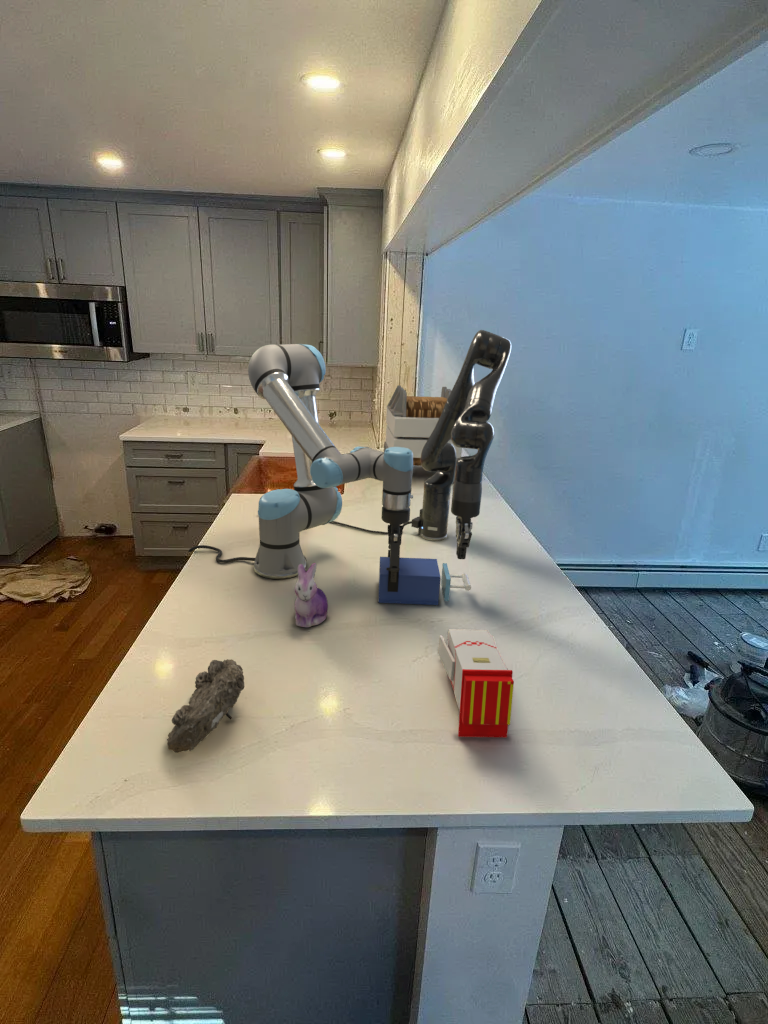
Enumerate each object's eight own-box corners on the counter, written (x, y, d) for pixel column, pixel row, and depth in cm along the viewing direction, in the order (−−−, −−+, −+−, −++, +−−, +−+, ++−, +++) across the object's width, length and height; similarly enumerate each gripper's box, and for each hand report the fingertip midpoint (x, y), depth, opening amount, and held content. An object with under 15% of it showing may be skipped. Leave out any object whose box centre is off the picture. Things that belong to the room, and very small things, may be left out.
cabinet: (434, 585, 164) (436, 558, 161) (438, 605, 153) (440, 576, 150) (378, 583, 163) (379, 556, 160) (378, 602, 153) (379, 574, 150)
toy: (488, 613, 130) (523, 677, 101) (484, 667, 133) (517, 744, 104) (435, 612, 130) (455, 676, 101) (432, 666, 133) (451, 743, 103)
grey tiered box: (382, 463, 289) (386, 382, 275) (445, 464, 293) (451, 384, 279) (390, 482, 257) (394, 392, 243) (460, 483, 261) (468, 394, 247)
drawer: (465, 584, 163) (467, 564, 161) (470, 602, 153) (473, 580, 151) (393, 582, 162) (394, 561, 160) (393, 599, 153) (395, 577, 151)
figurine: (299, 632, 137) (299, 576, 132) (286, 613, 145) (285, 559, 140) (336, 624, 141) (336, 570, 136) (320, 605, 149) (321, 553, 144)
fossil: (192, 660, 117) (244, 628, 112) (224, 691, 120) (276, 661, 115) (142, 746, 98) (202, 712, 93) (182, 779, 101) (242, 748, 96)
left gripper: (412, 523, 138) (407, 602, 146) (408, 493, 161) (404, 563, 168) (381, 521, 138) (378, 601, 145) (382, 492, 160) (379, 562, 168)
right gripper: (485, 505, 142) (478, 568, 148) (476, 489, 155) (470, 547, 161) (455, 504, 142) (449, 567, 148) (449, 488, 155) (444, 546, 161)
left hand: (392, 580), depth 157 cm, fingers closed on cabinet, 11 cm apart
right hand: (460, 556), depth 154 cm, fingers closed
